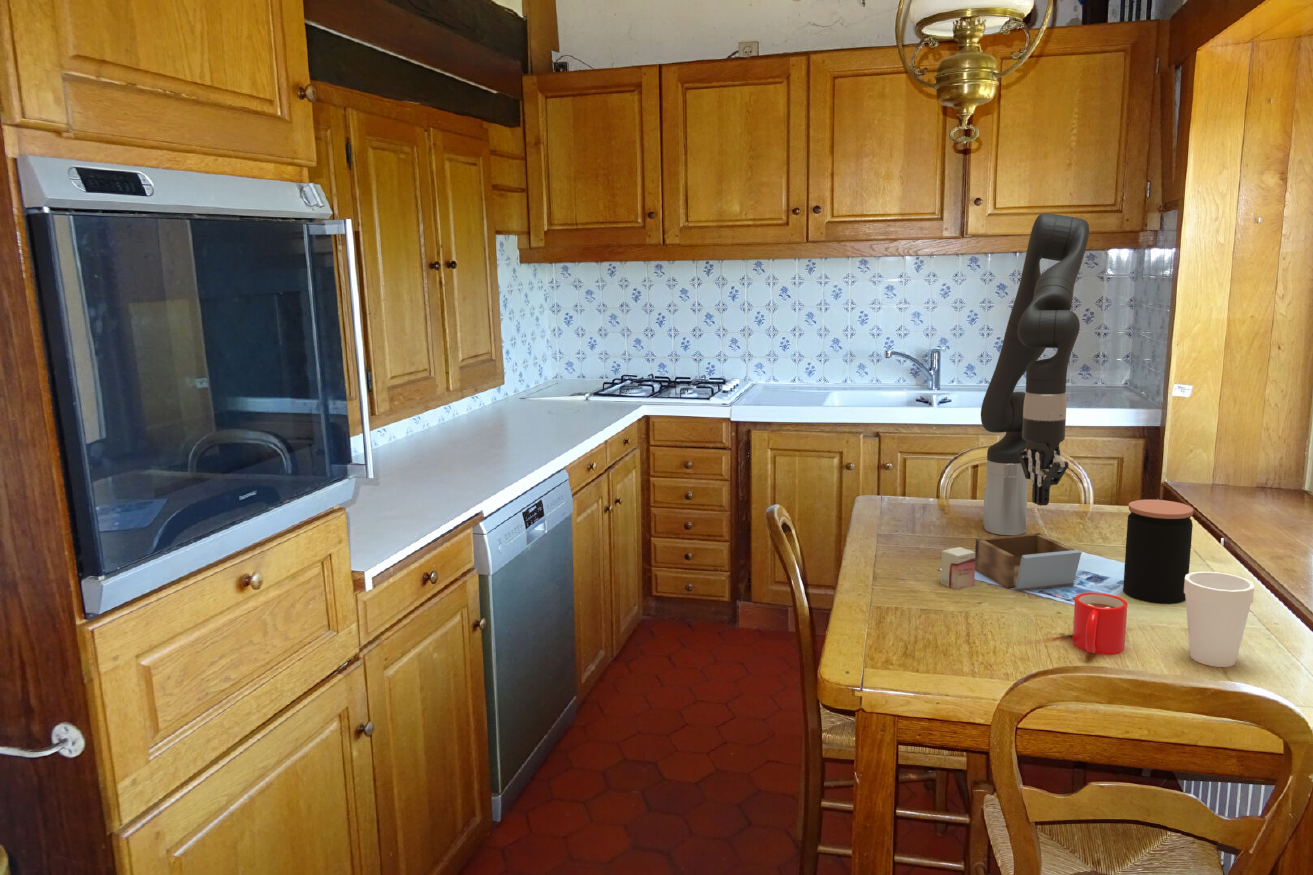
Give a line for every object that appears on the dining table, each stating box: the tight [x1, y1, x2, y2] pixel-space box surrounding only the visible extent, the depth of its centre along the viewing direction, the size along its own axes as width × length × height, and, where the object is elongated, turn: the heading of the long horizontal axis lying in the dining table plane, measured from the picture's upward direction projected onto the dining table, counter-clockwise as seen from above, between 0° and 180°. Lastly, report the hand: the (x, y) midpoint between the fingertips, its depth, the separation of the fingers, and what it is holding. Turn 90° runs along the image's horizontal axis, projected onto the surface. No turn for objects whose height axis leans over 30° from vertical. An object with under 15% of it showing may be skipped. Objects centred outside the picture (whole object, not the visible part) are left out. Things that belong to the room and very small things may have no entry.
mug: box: [1071, 591, 1128, 656], centre depth 150 cm, size 8×12×8 cm, turn 147°
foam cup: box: [1184, 570, 1255, 668], centre depth 145 cm, size 10×9×13 cm
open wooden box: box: [974, 532, 1076, 590], centre depth 184 cm, size 12×14×8 cm
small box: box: [940, 546, 976, 590], centre depth 180 cm, size 5×4×8 cm
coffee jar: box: [1122, 499, 1194, 605], centre depth 171 cm, size 11×11×18 cm
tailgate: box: [1013, 549, 1082, 592], centre depth 176 cm, size 1×12×8 cm, turn 102°
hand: (1040, 503), depth 177 cm, fingers closed
